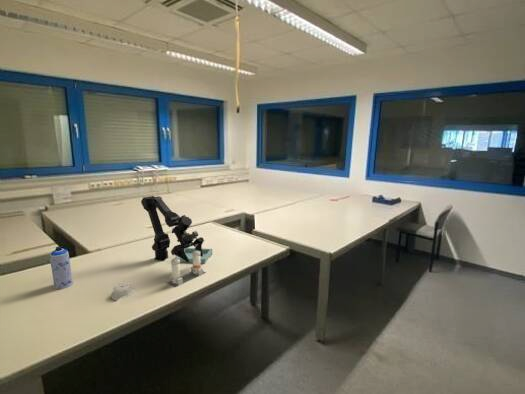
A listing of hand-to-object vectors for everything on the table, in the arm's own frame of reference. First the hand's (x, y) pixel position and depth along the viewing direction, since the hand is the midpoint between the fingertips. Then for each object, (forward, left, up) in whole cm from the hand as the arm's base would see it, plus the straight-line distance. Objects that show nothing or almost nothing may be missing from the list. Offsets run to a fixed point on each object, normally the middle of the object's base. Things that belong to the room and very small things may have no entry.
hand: (195, 259), depth 151 cm
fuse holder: (-3, -6, -9) cm, 11 cm away
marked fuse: (+1, 0, -8) cm, 8 cm away
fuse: (-6, -11, -8) cm, 15 cm away
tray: (-7, +20, -9) cm, 23 cm away
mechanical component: (-28, -23, -9) cm, 37 cm away
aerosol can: (-61, -18, -9) cm, 65 cm away
